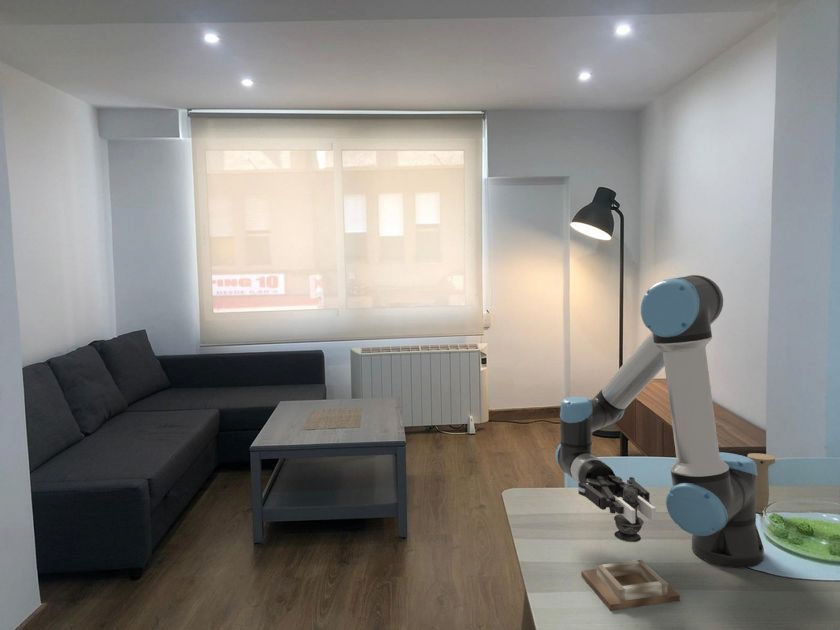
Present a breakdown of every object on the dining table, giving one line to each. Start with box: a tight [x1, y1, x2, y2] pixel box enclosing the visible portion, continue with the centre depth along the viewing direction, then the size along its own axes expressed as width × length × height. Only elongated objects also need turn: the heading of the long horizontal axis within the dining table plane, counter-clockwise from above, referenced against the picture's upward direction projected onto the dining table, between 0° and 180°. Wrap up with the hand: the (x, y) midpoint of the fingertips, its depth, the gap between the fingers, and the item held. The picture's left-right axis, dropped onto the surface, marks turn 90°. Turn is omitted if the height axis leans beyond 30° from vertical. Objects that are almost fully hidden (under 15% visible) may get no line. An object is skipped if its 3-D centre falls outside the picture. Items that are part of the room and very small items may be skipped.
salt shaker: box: [613, 481, 645, 543], centre depth 137 cm, size 6×6×12 cm
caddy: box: [580, 559, 681, 612], centre depth 140 cm, size 15×14×4 cm
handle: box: [746, 452, 776, 514], centre depth 174 cm, size 5×6×15 cm
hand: (643, 515), depth 132 cm, fingers closed on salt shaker, 4 cm apart
